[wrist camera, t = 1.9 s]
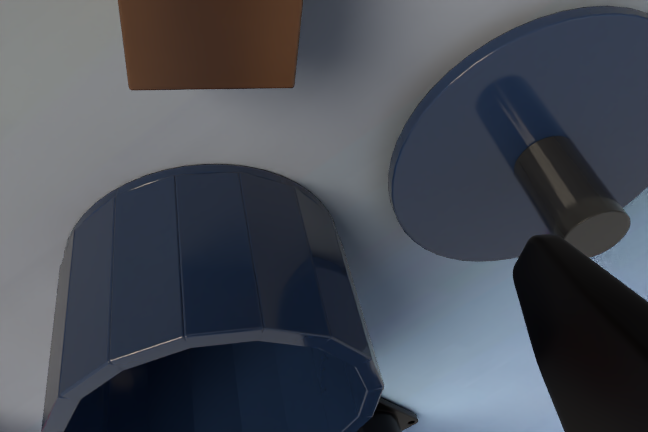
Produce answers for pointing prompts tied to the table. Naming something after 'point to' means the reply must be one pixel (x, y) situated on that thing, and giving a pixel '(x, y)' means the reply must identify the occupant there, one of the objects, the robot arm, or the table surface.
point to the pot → (208, 312)
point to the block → (210, 43)
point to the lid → (530, 140)
